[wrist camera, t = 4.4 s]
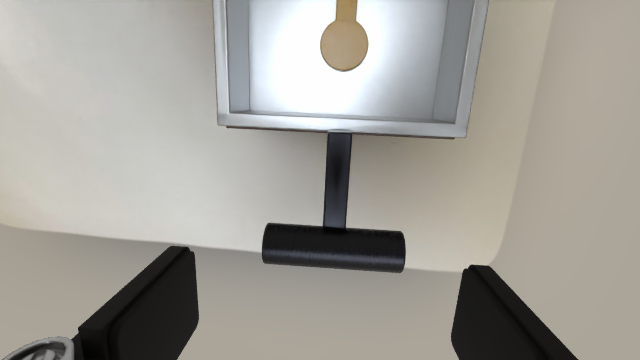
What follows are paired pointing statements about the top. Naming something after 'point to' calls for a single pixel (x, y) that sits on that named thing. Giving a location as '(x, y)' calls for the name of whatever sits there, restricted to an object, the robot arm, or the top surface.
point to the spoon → (344, 38)
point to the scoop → (346, 99)
